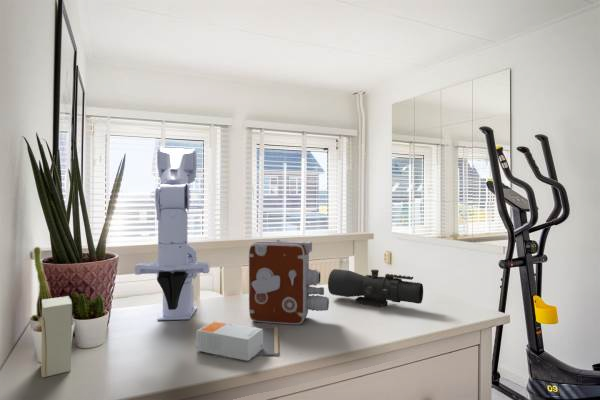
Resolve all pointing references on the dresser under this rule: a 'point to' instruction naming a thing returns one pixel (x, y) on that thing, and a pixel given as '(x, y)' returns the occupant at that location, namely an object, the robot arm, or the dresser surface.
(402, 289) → the rifle scope
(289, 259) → the cine camera
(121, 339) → the dresser surface
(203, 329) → the skincare box
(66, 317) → the skincare box
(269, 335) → the rubber mat
